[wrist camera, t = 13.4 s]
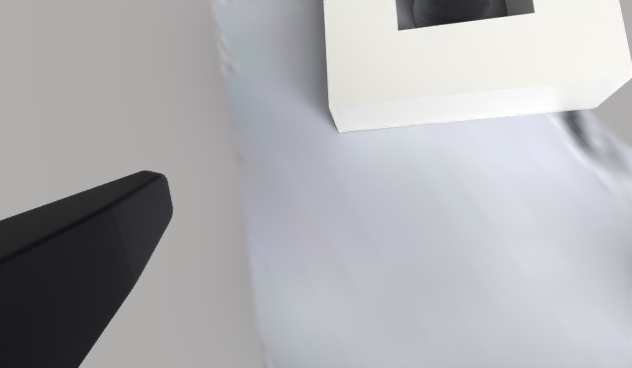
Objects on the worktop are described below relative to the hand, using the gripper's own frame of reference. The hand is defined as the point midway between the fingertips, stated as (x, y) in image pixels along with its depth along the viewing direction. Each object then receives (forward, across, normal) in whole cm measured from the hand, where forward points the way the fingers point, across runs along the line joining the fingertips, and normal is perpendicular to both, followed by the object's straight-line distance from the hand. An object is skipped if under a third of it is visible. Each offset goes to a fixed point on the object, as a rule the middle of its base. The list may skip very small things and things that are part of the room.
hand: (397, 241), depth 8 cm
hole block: (+19, 0, 0) cm, 19 cm away
